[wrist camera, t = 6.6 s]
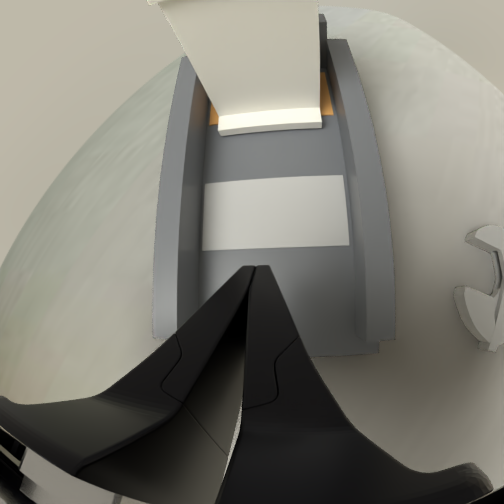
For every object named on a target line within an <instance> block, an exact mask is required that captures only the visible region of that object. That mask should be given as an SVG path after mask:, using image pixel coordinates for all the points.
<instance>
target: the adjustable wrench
mask: <svg viewBox="0 0 504 504" xmlns="http://www.w3.org/2000/svg"><path fill="white" fill-rule="evenodd" d="M465 242H467V243H469V244H471V245H474V246H476V247H478V248H480V249H482V250H484V251H486V252H488V253H490V254H491V257H492V262H493V267H494V272H495V282H494V287H493V292H492V295H491V296H490V295H487V294H485V293H482V292H480V291H477V290H475V289H473V288H470V287H468V286H461V287H455V291H454V299H455V304H456V307H457V310H458V313H459V315H460V317H461V319H462V321H463V323H464V325H465V326H466V328H467V329H468V330H469V331H470V333H471V334H472V335H473V336H474V337H475V338H476V339H477V340H479V341H480V342H479V345H478V349H481V350H485V351H491V352H496V351H497V348H498V346H500V345H502V344H504V228H503V227H500V226H497V225H486V226H484V227H482V228H480V229H478V230H475V231H473V232H471V233H469V234H468V235H467V236H466V239H465Z"/></svg>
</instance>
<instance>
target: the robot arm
mask: <svg viewBox="0 0 504 504" xmlns="http://www.w3.org/2000/svg"><path fill="white" fill-rule="evenodd" d="M242 397H243V398H242ZM241 401H242V417H241V425H240V431H239V435H238V438H237V441H236V444H235V447H234V450H233V453H232V456H231V459H230V462H229V465H228V467H227V470H226V473H225V476H224V472H225V468H226V464H227V460H228V456H229V452H230V448H231V444H232V439H233V435H234V431H235V427H236V423H237V418H238V414H239V410H240V406H241ZM0 426H1V427H3V428H4V429H5V430H6V431H7V432H6V431H5V430H3V429H2V428H1V427H0V504H504V486H503V487H501V488H499V489H497V490H495V491H493V492H492V490H493V486H492V484H491V481H490V480H489V478H488V477H487V476H486V475H485V474H484V473H483V471H482V470H480V469H479V468H478V467H477V466H476V465H475V464H474V463H471V462H470V463H465V464H461V465H458V466H455V467H451V468H448V469H445V470H442V471H438V472H433V473H422V472H417V471H414V470H411V469H409V468H407V467H406V466H404V465H403V464H401V463H400V462H399V461H397V460H396V459H394V458H393V457H392V456H390V455H389V454H388V453H386V452H385V451H384V450H382V449H381V448H380V447H379V446H377V445H376V444H375V443H373V442H372V441H371V440H369V439H368V438H367V437H366V436H364V435H363V434H362V433H361V432H359V431H358V430H357V429H356V428H355V427H354V426H353V424H352V423H351V422H350V421H349V419H348V418H347V417H346V415H345V414H344V413H343V411H342V410H341V408H340V406H339V405H338V403H337V402H336V400H335V399H334V397H333V395H332V394H331V392H330V391H329V389H328V388H327V386H326V385H325V383H324V381H323V380H322V378H321V377H320V375H319V373H318V371H317V370H316V368H315V366H314V364H313V363H312V361H311V359H310V357H309V355H308V352H307V350H306V348H305V346H304V344H303V341H302V339H301V338H300V334H299V332H298V330H297V327H296V325H295V323H294V320H293V318H292V316H291V313H290V311H289V309H288V306H287V304H286V302H285V299H284V297H283V295H282V292H281V290H280V288H279V285H278V283H277V281H276V278H275V276H274V274H273V271H272V269H271V267H270V265H257V266H255V265H243V266H242V267H240V268H239V269H238V270H237V271H236V272H235V273H234V274H233V275H232V276H231V277H230V278H229V279H228V280H227V281H226V282H225V283H224V284H223V285H222V286H221V287H220V288H219V289H218V290H217V291H216V292H215V293H214V294H213V295H212V296H211V297H210V298H209V299H208V300H207V301H206V302H205V303H204V304H203V305H202V306H201V307H200V308H199V309H198V310H197V311H196V312H195V313H194V314H193V315H192V316H191V317H190V318H189V319H188V320H187V321H186V322H185V323H184V324H183V325H182V326H181V327H180V328H179V329H178V330H177V331H176V332H175V333H174V334H172V335H171V336H170V337H169V338H168V339H167V340H166V341H165V342H164V343H163V344H162V345H161V346H160V347H159V348H158V349H157V350H155V351H154V352H153V353H152V354H151V355H150V356H148V357H147V358H146V359H145V360H144V361H143V362H141V363H140V364H139V365H138V366H136V367H135V368H134V369H133V370H131V371H130V372H129V373H127V374H126V375H125V376H124V377H122V378H121V379H120V380H119V381H117V382H116V383H115V384H113V385H112V386H111V387H110V388H108V389H107V390H105V391H103V392H102V393H100V394H98V395H95V396H92V397H89V398H83V399H76V400H69V401H61V402H52V403H43V404H30V405H24V404H17V403H14V402H11V401H10V400H9V399H7V398H6V397H4V396H0ZM8 432H9V433H10V434H11V435H10V434H9V433H8ZM14 437H15V438H14ZM223 476H224V479H223ZM222 480H223V482H222ZM221 484H222V485H221ZM490 492H491V493H490ZM488 493H489V494H488Z"/></svg>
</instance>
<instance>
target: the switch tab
mask: <svg viewBox="0 0 504 504" xmlns="http://www.w3.org/2000/svg"><path fill="white" fill-rule="evenodd" d="M146 1H147V3H148V4H149V6H150V5H153V4H156V3H158V5H159V6H160V8H161V10H162V12H163V13H164V15H165V17H166V19H167V20H168V22H169V24H170V26H171V28H172V29H173V31H174V33H175V35H176V37H177V38H178V40H179V42H180V44H181V46H182V48H183V49H184V51H185V53H186V55H187V57H188V59H189V61H190V62H191V64H192V66H193V68H194V70H195V72H196V74H197V76H198V77H199V79H200V81H201V83H202V85H203V87H204V89H205V91H206V93H207V95H208V97H209V98H210V100H211V102H212V104H213V106H214V108H215V110H216V112H217V114H218V116H219V122H218V132H219V134H220V135H221V136H226V135H234V134H243V133H252V132H263V131H275V130H289V129H309V128H322V119H321V113H320V41H319V14H318V0H146Z"/></svg>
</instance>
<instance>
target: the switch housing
mask: <svg viewBox="0 0 504 504" xmlns="http://www.w3.org/2000/svg"><path fill="white" fill-rule="evenodd" d="M319 41H320V113H321V119H322V128H309V129H289V130H275V131H263V132H252V133H243V134H234V135H226V136H221V135H220V134H219V132H218V122H219V116H218V114H217V112H216V110H215V108H214V106H213V104H212V102H211V100H210V98H209V97H208V95H207V93H206V91H205V89H204V87H203V85H202V83H201V81H200V79H199V77H198V76H197V74H196V72H195V70H194V68H193V66H192V64H191V62H190V61H189V59H188V57H187V56H185V57H182V59H181V63H180V67H179V72H178V76H177V81H176V85H175V90H174V95H173V100H172V105H171V111H170V116H169V122H168V128H167V134H166V140H165V147H164V154H163V161H162V168H161V176H160V185H159V194H158V204H157V216H156V228H155V243H154V263H153V300H152V322H153V338H159V339H168V338H169V337H170V336H171V335H172V334H174V333H175V332H176V331H177V330H178V329H179V328H180V327H181V326H182V325H183V324H184V323H185V322H186V321H187V320H188V319H189V318H190V317H191V316H192V315H193V314H194V313H195V312H196V311H197V310H198V309H199V308H200V307H201V306H202V305H203V304H204V303H205V302H206V301H207V300H208V299H209V298H210V297H211V296H212V295H213V294H214V293H215V292H216V291H217V290H218V289H219V288H220V287H221V286H222V285H223V284H224V283H225V282H226V281H227V280H228V279H229V278H230V277H231V276H232V275H233V274H234V273H235V272H236V271H237V270H238V269H239V268H240V267H242V266H243V265H255V266H257V265H270V267H271V269H272V271H273V274H274V276H275V278H276V281H277V283H278V285H279V288H280V290H281V292H282V295H283V297H284V299H285V302H286V304H287V306H288V309H289V311H290V313H291V316H292V318H293V320H294V323H295V325H296V327H297V330H298V332H299V334H300V338H301V339H302V341H303V344H304V346H305V348H306V350H307V352H308V355H309V357H324V356H346V355H362V354H374V353H379V341H385V340H395V278H394V260H393V247H392V236H391V226H390V217H389V210H388V202H387V195H386V189H385V182H384V177H383V171H382V166H381V160H380V155H379V150H378V146H377V141H376V137H375V132H374V128H373V124H372V120H371V116H370V112H369V108H368V105H367V101H366V98H365V94H364V91H363V87H362V84H361V81H360V78H359V75H358V71H357V68H356V65H355V62H354V60H353V57H352V54H351V51H350V48H349V46H348V43H347V40H346V39H327V22H326V19H325V16H324V14H319Z"/></svg>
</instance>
